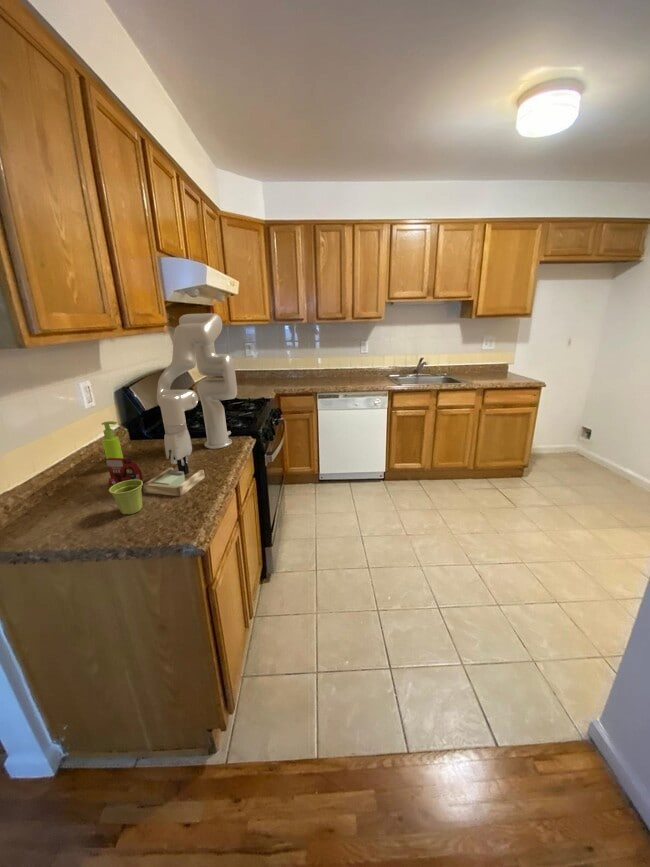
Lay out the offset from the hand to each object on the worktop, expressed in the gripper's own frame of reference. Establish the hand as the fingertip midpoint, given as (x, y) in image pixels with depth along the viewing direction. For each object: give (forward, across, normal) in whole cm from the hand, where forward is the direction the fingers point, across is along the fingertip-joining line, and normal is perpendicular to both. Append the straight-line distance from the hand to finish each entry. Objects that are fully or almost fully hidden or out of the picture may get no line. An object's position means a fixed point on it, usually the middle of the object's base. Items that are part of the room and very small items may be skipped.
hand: (184, 473), depth 135 cm
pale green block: (+2, +7, -1) cm, 7 cm away
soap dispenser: (+2, -4, -34) cm, 34 cm away
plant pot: (+2, +24, -3) cm, 24 cm away
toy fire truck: (+2, +8, -19) cm, 21 cm away
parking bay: (+2, +6, 0) cm, 6 cm away
